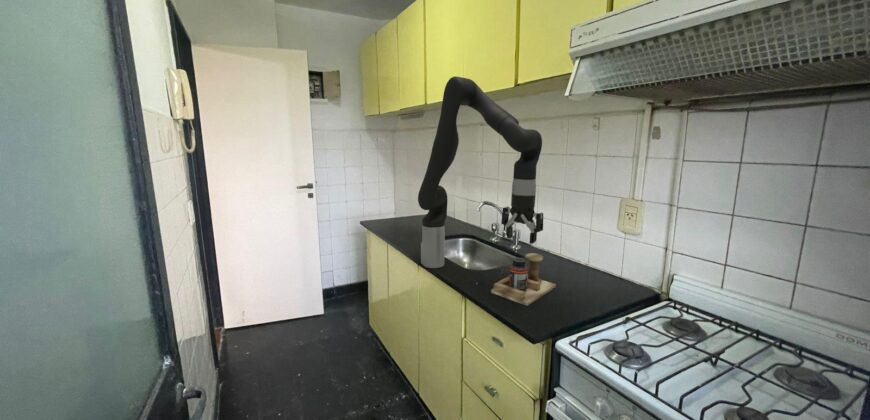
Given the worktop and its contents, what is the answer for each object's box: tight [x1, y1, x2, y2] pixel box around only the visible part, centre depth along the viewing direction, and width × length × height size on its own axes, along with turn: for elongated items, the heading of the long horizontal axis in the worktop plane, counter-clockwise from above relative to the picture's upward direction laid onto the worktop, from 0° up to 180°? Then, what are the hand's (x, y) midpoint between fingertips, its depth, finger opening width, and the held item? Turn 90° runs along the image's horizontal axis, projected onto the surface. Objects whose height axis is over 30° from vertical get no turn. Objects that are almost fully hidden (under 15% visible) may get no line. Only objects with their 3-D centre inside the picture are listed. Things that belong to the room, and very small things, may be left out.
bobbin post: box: [525, 252, 544, 284], centre depth 127 cm, size 6×6×10 cm
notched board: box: [490, 275, 557, 307], centre depth 124 cm, size 14×20×4 cm
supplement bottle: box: [508, 257, 528, 292], centre depth 120 cm, size 6×6×11 cm
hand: (520, 240), depth 118 cm, fingers open, 8 cm apart
